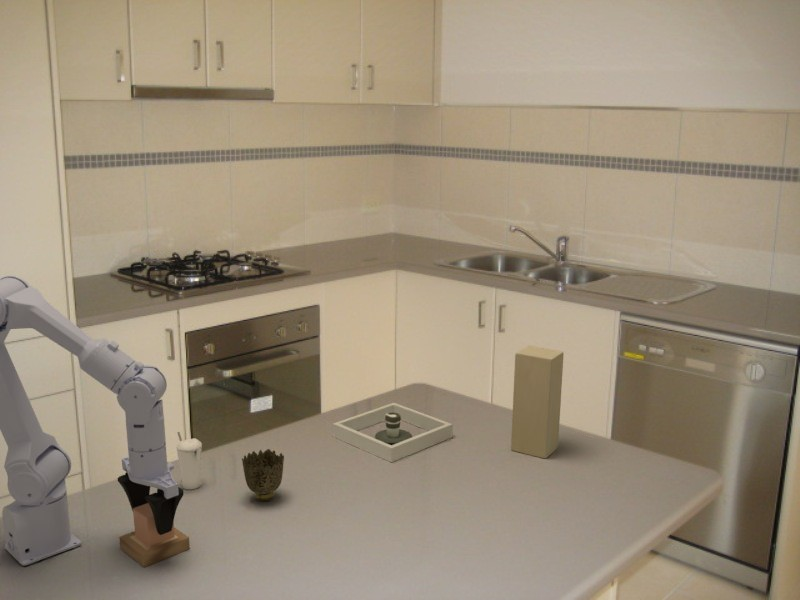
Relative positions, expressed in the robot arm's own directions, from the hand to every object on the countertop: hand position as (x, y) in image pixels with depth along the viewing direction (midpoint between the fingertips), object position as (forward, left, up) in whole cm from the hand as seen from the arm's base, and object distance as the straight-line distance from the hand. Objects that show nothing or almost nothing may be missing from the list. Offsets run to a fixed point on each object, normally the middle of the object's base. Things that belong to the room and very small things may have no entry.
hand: (152, 523), depth 136 cm
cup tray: (+59, +6, -4) cm, 59 cm away
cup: (+23, +2, -5) cm, 24 cm away
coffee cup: (+59, +6, -4) cm, 59 cm away
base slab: (0, 0, -4) cm, 4 cm away
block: (0, 0, -2) cm, 2 cm away
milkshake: (+16, +16, -5) cm, 23 cm away
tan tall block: (+76, -19, -5) cm, 78 cm away
